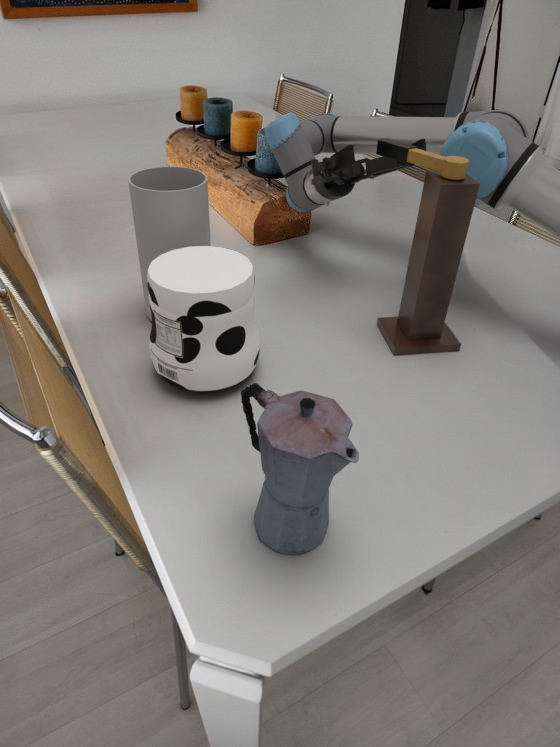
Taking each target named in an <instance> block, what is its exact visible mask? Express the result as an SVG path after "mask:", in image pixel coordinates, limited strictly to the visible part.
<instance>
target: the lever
mask: <svg viewBox="0 0 560 747" xmlns="http://www.w3.org/2000/svg"><path fill="white" fill-rule="evenodd" d="M376 154H378V155H377V156H380V157H382V156H384V157H387V158H390V159H394V160H397V161H400V162H403V163H407V162H409V163H413V164H415V165H416V166H420V167H423V168H426V169H429V170H431V171H432V170H433V171H439V172H441V176H442V177H444V178H447V179H452V180H461V179H464V178H465V177H466V172H467V168H468V164H469V160H468V159H466V158H464V157H459V156H447V157H445V156H442V155H438V154H435V153H431V152H428V151H424V150H421V149H417V148H416V146H413V145H410V144H406V143H403V142H399V141H396V140H392V139H388V138H384V139H380V140H378V143H377V151H376Z"/></svg>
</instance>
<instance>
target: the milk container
mask: <svg viewBox="0 0 560 747" xmlns="http://www.w3.org/2000/svg"><path fill="white" fill-rule="evenodd" d="M255 284H256V277H255V270H254V265H253V264H252V262H251V260H250V259H249V258H248V257H247V256H245V255H244V254H242V253H240V252H238V251H237V250H232V249H229V248H225V247H220V246H213V245H211V246H191V247H185V248H180V249H175V250H172V251H169V252H167V253H164V254H162V255H160V256H158V257H157V258H156V259H155V260H153V261H152V262H151V264H150V266H149V268H148V272H147V285H148V291H149V304H150V310H151V316H152V321H151V328H150V332H149V339H148V349H149V350H148V351H149V355H150V358H151V362H152V364H153V367H154V369H155V371H156V373H157V374H158V376H159V377H161V378H162V379H163V381H164V382H165V383H167V384H168V385H171V386H173V387H175V388H178V389H181V390H183V391H189V392H196V393H197V392H198V393H211V392H219V391H222V390H226V389H229V388H232V387H235V386H237V385H238V384H240V383H242V382H243V381H245V380H246V379H247V378H248V377H249V376H250V375H251V374H252V373H253V371H254V370H255V368H256V367H257V364H258V360H259V357H260V351H261V338H260V333H259V329H258V325H257V323H256V316H255V304H256V292H255V286H256V285H255Z"/></svg>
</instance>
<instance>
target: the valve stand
mask: <svg viewBox="0 0 560 747" xmlns="http://www.w3.org/2000/svg"><path fill="white" fill-rule="evenodd" d="M479 186H480V183H478V182H477V181H476V180H474V179H473V178H472V177H470V176H469V175H468V174H466V177H465V178H464V179H461V180H452V179H447V178H444V177H442V176H441V172H439V171H435V170H433V171H432V170H431V171H426V172H425V175H424V181H423V187H422V190H421V197H420V201H419V207H418V212H417V218H416V222H415V227H414V232H413V237H412V243H411V248H410V254H409V258H408V262H407V269H406V274H405V278H404V283H403V290H402V294H401V300H400V305H399V310H398V315H397V316H384V317H383V316H382V317H377V321H376V326H377V328H378V329H379V332H380V333H381V335H382V337H383V338H384V340H385V342H386V344H387V346H388V347H389V350H390V351H391V353H392V355H393V356H405V355H418V354H419V355H420V354H421V355H422V354H434V353H449V352H459V351H460V349H461V346H462V343H461V342H460V341H459V339H458V338H457V336H456V335H455V334H454V332H453V330H452V329H451V328H450V327H449V326H448V324H447V323H446V319H447V314H448V310H449V307H450V302H451V300H452V299H451V298H452V295H453V291H454V287H455V284H456V279H457V276H458V271H459V268H460V263H461V258H462V256H463V252H464V247H465V244H466V240H467V236H468V232H469V228H470V225H471V220H472V216H473V213H474V210H475V205H476V201H477V199H476V197H477V194H478V190H479Z"/></svg>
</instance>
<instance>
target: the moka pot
mask: <svg viewBox="0 0 560 747" xmlns="http://www.w3.org/2000/svg"><path fill="white" fill-rule="evenodd" d="M240 397H241V404H242V411H243V413H244V415H245V421H246V423H247V426H248V432H249V434H250V440H251V446H252V447H253V448H254V449H255V450H256V451H258V452H259V454H260V463H261V470H262V473H263V474H264V475H265V476H264V480H263V482H262V487H261V491H260V494H259V497H258V501H257V505H256V508H255V511H254V515H253V522H254V527H255V530H256V534H257V536H258V538H259V539H260V541H262V543H263V544H265V546H268V547H269V548H271V550H273V551H275V552H277V553H281V554H284V555H295V556H296V555H302V554H306V553H308V552H310V551H313V550H314V549H316V548H317V547H318V546H319V545H321V544H322V543H323V542H324V539H325V537H326V534H327V531H328V528H329V524H330V487H331V484H332V482H333V479H334V477H335V476H336V475H337V474H339V473H340V472H342V470H343V469H344V468H346V467H347V466H348V465H349V464H350V463H354V464H356V463H358V462H359V460H360V452H359V450H358V449H357V447H356V446H355V445H354V443H353V442H352V441H351V439H350V438H349V436H350V433H351V431H352V428H353V421H352V419H351V417H349V415H348V414H347V413H346V412H345V410H344V409H343V408H342V407H341V406H340V404H339V402H337V401H336V399H334V398H333V397H332V398H330V397H328V396H324V395H321V394H317V393H313V392H311V391H310V392H309V391H305V390H297V391H294V392H289V393H286V394H283V395H278V394H277V393H276V392H274V391H273V390H271V389H268V390H266V389H265V388H263V387H262V386H261V385H259V383H256V382H253V383H252V384H249V386H245V388H244V389H242V390H240ZM251 398H253V399H254V400H255V401H256V402H257V404H258V405H259V406H260V407H261V408H263V409H264V410H263V411H262V412H261V415H260V417H259V418H258V421H257V423H256V421H255V418H254V415H255V414H254V411H253V405H252V402H251Z"/></svg>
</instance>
